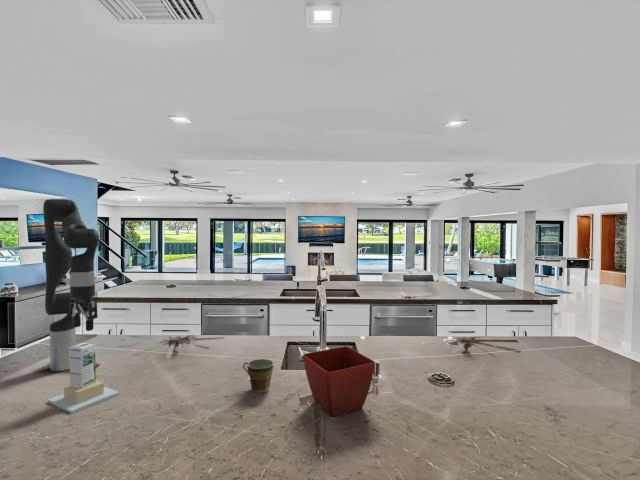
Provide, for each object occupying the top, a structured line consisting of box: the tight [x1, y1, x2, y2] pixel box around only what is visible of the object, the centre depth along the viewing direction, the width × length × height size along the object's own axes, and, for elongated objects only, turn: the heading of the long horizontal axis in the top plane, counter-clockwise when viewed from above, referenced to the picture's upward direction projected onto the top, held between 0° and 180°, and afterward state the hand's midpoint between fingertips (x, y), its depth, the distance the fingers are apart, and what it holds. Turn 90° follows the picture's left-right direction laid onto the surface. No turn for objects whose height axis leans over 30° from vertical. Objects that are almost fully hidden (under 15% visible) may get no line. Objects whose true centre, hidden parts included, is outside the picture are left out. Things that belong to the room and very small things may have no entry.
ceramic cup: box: [242, 358, 274, 394], centre depth 139 cm, size 13×10×10 cm
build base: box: [47, 379, 120, 414], centre depth 130 cm, size 16×16×5 cm
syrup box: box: [69, 342, 97, 388], centre depth 130 cm, size 6×6×14 cm
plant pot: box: [302, 346, 376, 417], centre depth 126 cm, size 19×19×17 cm
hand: (83, 328), depth 129 cm, fingers open, 8 cm apart
